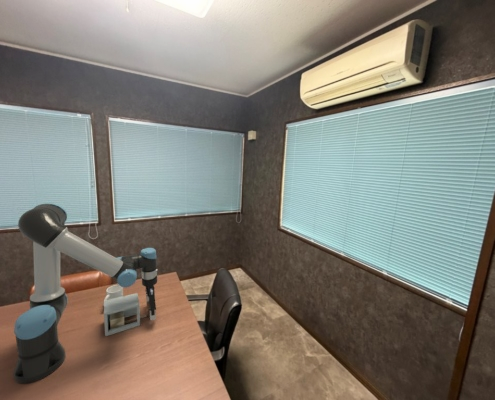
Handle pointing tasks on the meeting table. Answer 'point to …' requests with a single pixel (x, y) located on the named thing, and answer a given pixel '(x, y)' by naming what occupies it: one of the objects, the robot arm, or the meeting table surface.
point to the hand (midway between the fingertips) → (150, 311)
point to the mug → (113, 292)
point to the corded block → (118, 318)
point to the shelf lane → (122, 304)
